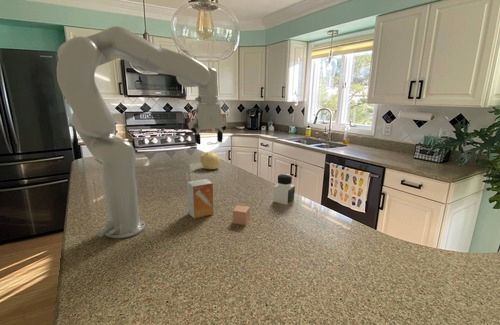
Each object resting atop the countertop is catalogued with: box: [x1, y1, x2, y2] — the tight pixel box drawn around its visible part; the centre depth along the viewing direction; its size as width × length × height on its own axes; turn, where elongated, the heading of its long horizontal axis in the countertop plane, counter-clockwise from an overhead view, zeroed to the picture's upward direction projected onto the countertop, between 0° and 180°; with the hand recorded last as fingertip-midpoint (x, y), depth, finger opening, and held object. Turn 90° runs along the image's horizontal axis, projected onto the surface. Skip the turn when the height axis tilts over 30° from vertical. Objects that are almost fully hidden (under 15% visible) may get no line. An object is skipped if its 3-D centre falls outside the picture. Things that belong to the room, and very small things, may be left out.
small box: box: [186, 178, 214, 220], centre depth 100 cm, size 8×6×13 cm
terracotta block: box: [232, 204, 251, 226], centre depth 96 cm, size 5×5×5 cm
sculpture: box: [199, 151, 221, 170], centre depth 165 cm, size 12×12×11 cm
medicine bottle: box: [272, 173, 296, 206], centre depth 114 cm, size 7×7×12 cm
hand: (209, 142), depth 109 cm, fingers open, 9 cm apart
